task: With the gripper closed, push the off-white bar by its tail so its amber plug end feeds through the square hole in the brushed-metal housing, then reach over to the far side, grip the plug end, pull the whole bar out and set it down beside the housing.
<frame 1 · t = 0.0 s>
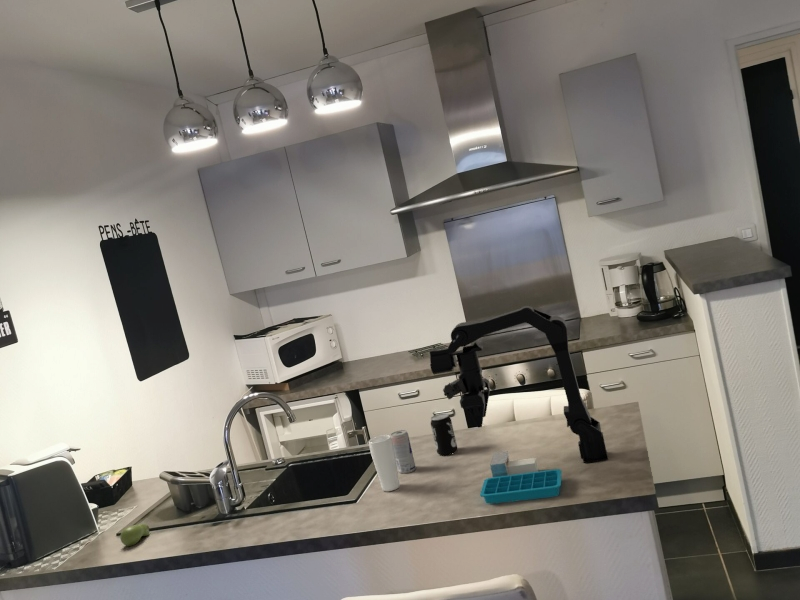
hand: (481, 421, 197), 15 cm above the counter, tool pointing down, fingers open, 9 cm apart
drinking glass: (391, 488, 204), on the counter
pear: (137, 541, 210), on the counter
plug bar: (518, 475, 192), on the counter
ice cube tray: (523, 494, 180), on the counter
energy drink: (407, 471, 216), on the counter
beverage can: (448, 453, 224), on the counter
motor housing: (503, 477, 193), on the counter
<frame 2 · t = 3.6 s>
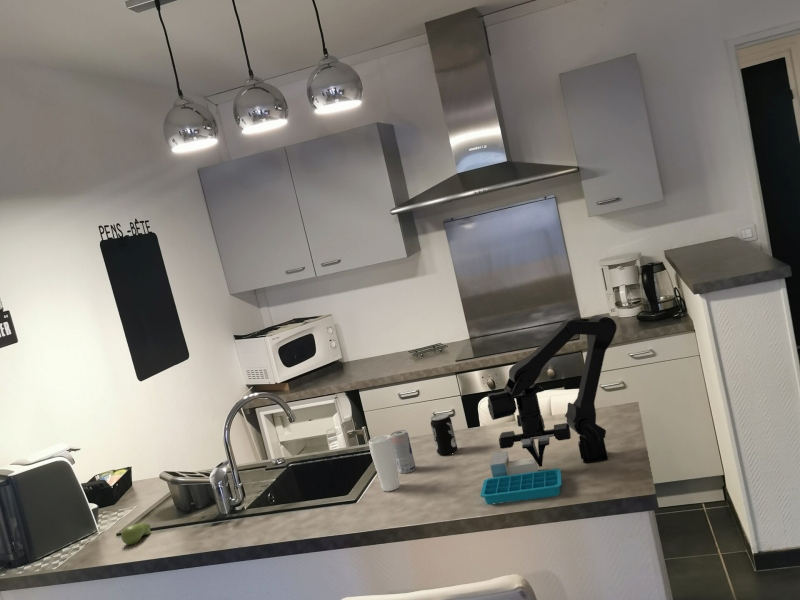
hand: (540, 466, 190), 2 cm above the counter, tool pointing down, fingers closed
plug bar: (518, 475, 192), on the counter, touching gripper
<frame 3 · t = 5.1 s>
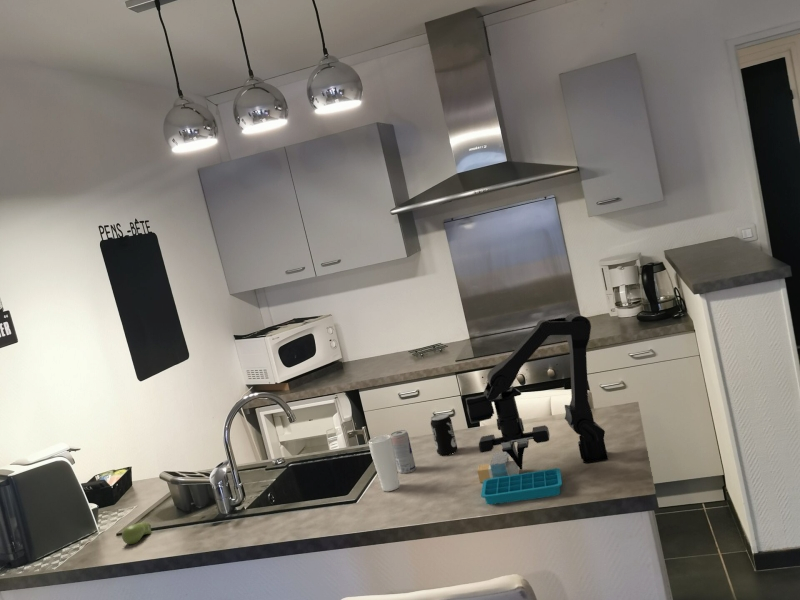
hand: (521, 468, 192), 2 cm above the counter, tool pointing down, fingers closed
plug bar: (499, 477, 193), on the counter, touching gripper
everything else where it was.
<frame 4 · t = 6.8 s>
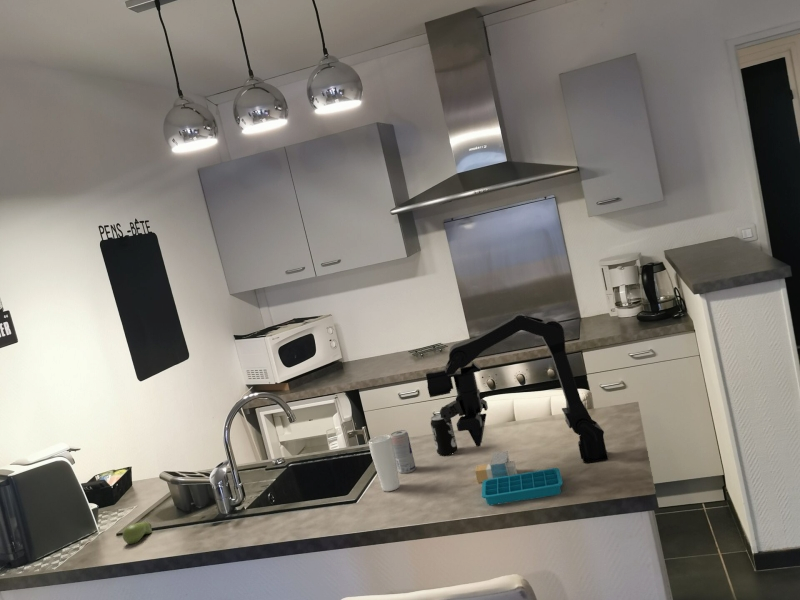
hand: (479, 444, 193), 10 cm above the counter, tool pointing down, fingers closed
plug bar: (497, 478, 194), on the counter
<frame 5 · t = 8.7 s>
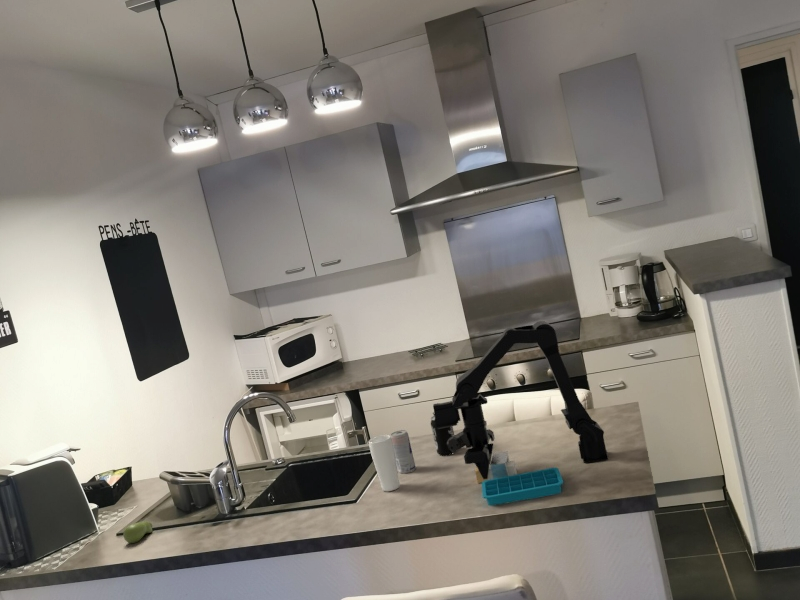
hand: (486, 475, 194), 1 cm above the counter, tool pointing down, fingers closed on plug bar, 4 cm apart
plug bar: (497, 477, 193), on the counter, touching gripper
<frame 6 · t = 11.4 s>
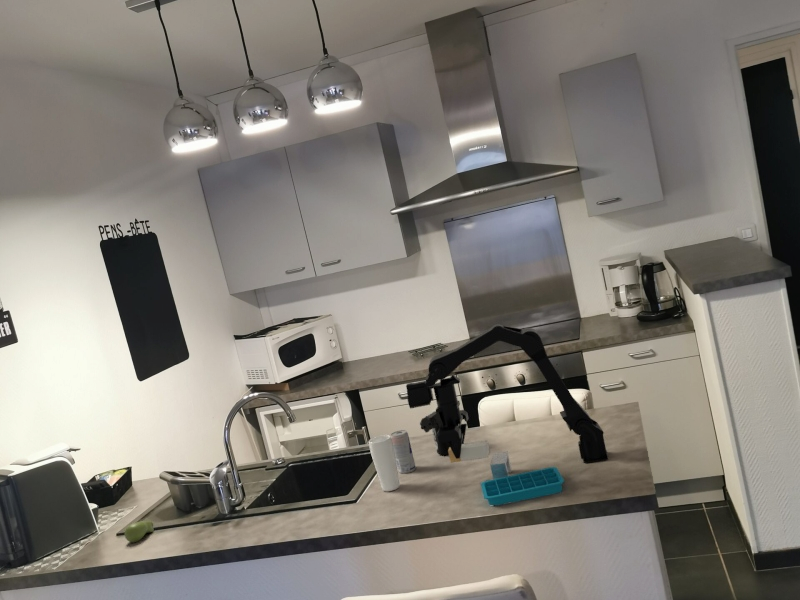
hand: (459, 455, 195), 8 cm above the counter, tool pointing down, fingers closed on plug bar, 4 cm apart
plug bar: (470, 457, 194), point 7 cm above the counter, touching gripper
when the fingers open (2 cm above the counter, at t = 14.1 s): plug bar drops 2 cm, on the counter.
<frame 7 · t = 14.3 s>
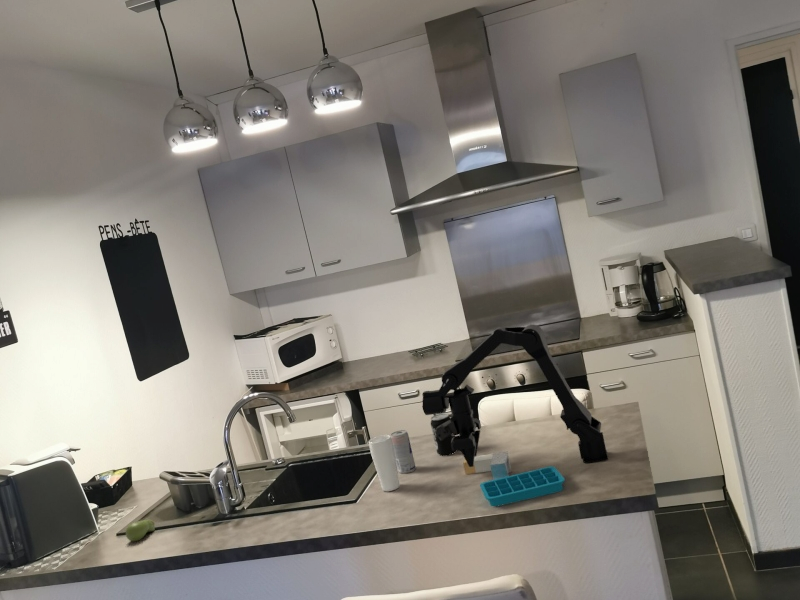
hand: (472, 462, 203), 2 cm above the counter, tool pointing down, fingers open, 6 cm apart
plug bar: (484, 469, 202), on the counter
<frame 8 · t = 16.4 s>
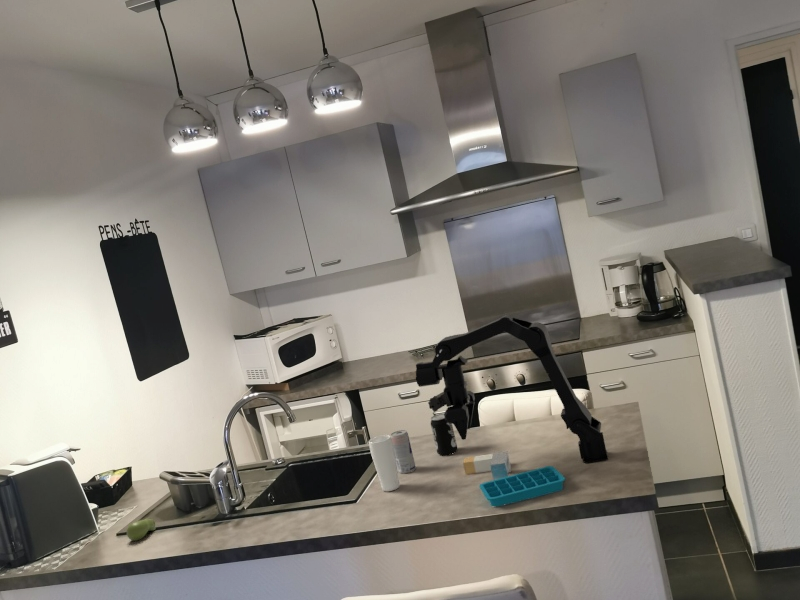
hand: (466, 434, 202), 11 cm above the counter, tool pointing down, fingers open, 9 cm apart
at the end: plug bar inside the target area (1.4 cm from its centre), on the counter; the gripper is holding nothing; plug bar touching counter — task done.
